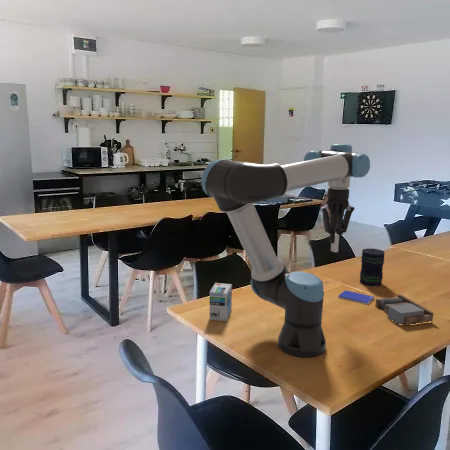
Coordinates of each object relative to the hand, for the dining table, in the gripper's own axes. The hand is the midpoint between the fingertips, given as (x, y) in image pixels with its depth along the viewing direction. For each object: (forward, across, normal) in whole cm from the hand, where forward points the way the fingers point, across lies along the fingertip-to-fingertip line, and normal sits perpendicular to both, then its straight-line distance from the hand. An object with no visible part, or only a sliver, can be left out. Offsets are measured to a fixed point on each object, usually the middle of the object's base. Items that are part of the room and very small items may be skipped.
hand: (334, 251), depth 169 cm
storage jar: (+25, +35, +27) cm, 51 cm away
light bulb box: (+25, -41, +8) cm, 49 cm away
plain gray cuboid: (+25, +24, -12) cm, 37 cm away
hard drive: (+25, +18, +12) cm, 33 cm away
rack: (+24, +26, -8) cm, 37 cm away
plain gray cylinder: (+25, +26, -2) cm, 36 cm away
